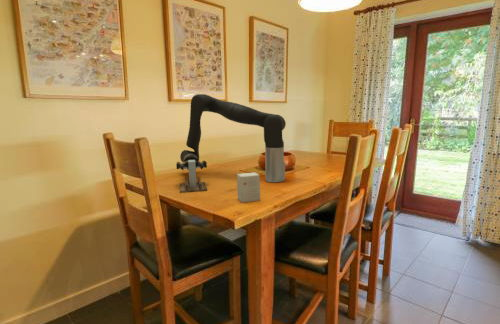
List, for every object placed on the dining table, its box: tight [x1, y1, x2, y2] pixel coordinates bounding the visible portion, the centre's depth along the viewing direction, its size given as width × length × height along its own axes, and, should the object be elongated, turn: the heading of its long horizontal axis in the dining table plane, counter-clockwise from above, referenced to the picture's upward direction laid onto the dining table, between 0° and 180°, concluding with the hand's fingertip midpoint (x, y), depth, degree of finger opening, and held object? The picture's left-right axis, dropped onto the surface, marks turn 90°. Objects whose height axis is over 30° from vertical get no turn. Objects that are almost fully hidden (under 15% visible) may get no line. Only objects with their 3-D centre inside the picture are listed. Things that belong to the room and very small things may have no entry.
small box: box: [236, 171, 261, 203], centre depth 116 cm, size 8×6×10 cm
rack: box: [179, 176, 208, 194], centre depth 136 cm, size 12×14×3 cm
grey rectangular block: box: [188, 160, 197, 188], centre depth 135 cm, size 3×6×12 cm, turn 13°
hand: (192, 167), depth 134 cm, fingers open, 8 cm apart
